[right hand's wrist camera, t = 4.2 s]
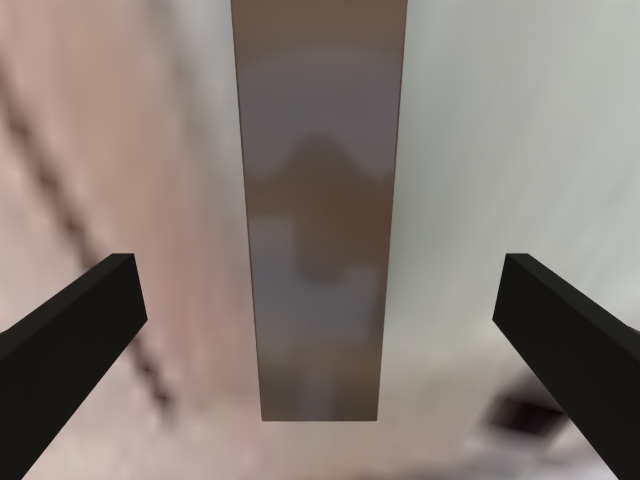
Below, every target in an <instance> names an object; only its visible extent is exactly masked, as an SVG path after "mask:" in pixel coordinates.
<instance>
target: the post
mask: <svg viewBox="0 0 640 480" xmlns="http://www.w3.org/2000/svg"><path fill="white" fill-rule="evenodd" d="M407 2H408V0H231V12H232V26H233V39H234V53H235V66H236V80H237V93H238V107H239V120H240V134H241V147H242V161H243V174H244V188H245V201H246V214H247V228H248V241H249V255H250V268H251V282H252V295H253V309H254V322H255V336H256V349H257V363H258V376H259V389H260V403H261V416H262V421H377V414H378V400H379V386H380V372H381V359H382V345H383V331H384V317H385V304H386V290H387V276H388V262H389V249H390V235H391V221H392V208H393V194H394V180H395V166H396V153H397V139H398V125H399V111H400V98H401V84H402V70H403V57H404V43H405V29H406V15H407Z"/></svg>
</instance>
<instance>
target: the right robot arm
mask: <svg viewBox="0 0 640 480" xmlns="http://www.w3.org/2000/svg"><path fill="white" fill-rule="evenodd" d="M147 320H148V319H147V314H146V309H145V304H144V300H143V295H142V290H141V285H140V280H139V276H138V271H137V266H136V261H135V256H134V253H112V254H111V255H109V256H108V257H107V258H105V259H104V260H103V261H101V262H100V263H98V264H97V265H96V266H94V267H93V268H92V269H90V270H89V271H87V272H86V273H85V274H83V275H82V276H81V277H79V278H78V279H76V280H75V281H74V282H72V283H71V284H70V285H68V286H67V287H65V288H64V289H63V290H61V291H60V292H59V293H57V294H56V295H54V296H53V297H52V298H50V299H49V300H48V301H46V302H45V303H43V304H42V305H41V306H39V307H38V308H37V309H35V310H34V311H32V312H31V313H30V314H28V315H27V316H26V317H24V318H23V319H21V320H20V321H19V322H17V323H16V324H15V325H13V326H12V327H11V328H9V329H8V330H6V331H4V332H2V333H0V480H21V479H22V478H23V477H24V476H25V474H26V473H27V472H28V471H29V469H30V468H31V467H32V466H33V464H34V463H35V462H36V460H37V459H38V458H39V457H40V455H41V454H42V453H43V452H44V450H45V449H46V448H47V447H48V445H49V444H50V443H51V442H52V440H53V439H54V438H55V436H56V435H57V434H58V433H59V431H60V430H61V429H62V428H63V426H64V425H65V424H66V423H67V421H68V420H69V419H70V418H71V416H72V415H73V414H74V412H75V411H76V410H77V409H78V407H79V406H80V405H81V404H82V402H83V401H84V400H85V399H86V397H87V396H88V395H89V393H90V392H91V391H92V390H93V388H94V387H95V386H96V385H97V383H98V382H99V381H100V380H101V378H102V377H103V376H104V375H105V373H106V372H107V371H108V369H109V368H110V367H111V366H112V364H113V363H114V362H115V361H116V359H117V358H118V357H119V356H120V354H121V353H122V352H123V351H124V349H125V348H126V347H127V345H128V344H129V343H130V342H131V340H132V339H133V338H134V337H135V335H136V334H137V333H138V332H139V330H140V329H141V328H142V326H143V325H144V324H145V323H146V321H147ZM492 320H493V321H494V323H495V324H496V325H497V326H498V328H499V329H500V330H501V332H502V333H503V334H504V335H505V337H506V338H507V339H508V340H509V342H510V343H511V344H512V345H513V347H514V348H515V349H516V351H517V352H518V353H519V354H520V356H521V357H522V358H523V359H524V361H525V362H526V363H527V364H528V366H529V367H530V368H531V369H532V371H533V372H534V373H535V375H536V376H537V377H538V378H539V380H540V381H541V382H542V383H543V385H544V386H545V387H546V388H547V390H548V391H549V392H550V393H551V395H552V396H553V397H554V399H555V400H556V401H557V402H558V404H559V405H560V406H561V407H562V409H563V410H564V411H565V412H566V414H567V415H568V416H569V418H570V419H571V420H572V421H573V423H574V424H575V425H576V426H577V428H578V429H579V430H580V431H581V433H582V434H583V435H584V436H585V438H586V439H587V440H588V442H589V443H590V444H591V445H592V447H593V448H594V449H595V450H596V452H597V453H598V454H599V455H600V457H601V458H602V459H603V460H604V462H605V463H606V464H607V466H608V467H609V468H610V469H611V471H612V472H613V473H614V474H615V476H616V477H617V478H618V479H619V480H640V332H639V331H637V330H635V329H633V328H631V327H628V326H627V325H625V324H624V323H623V322H621V321H620V320H619V319H617V318H616V317H614V316H613V315H612V314H610V313H609V312H608V311H606V310H605V309H603V308H602V307H601V306H599V305H598V304H597V303H595V302H594V301H592V300H591V299H590V298H588V297H587V296H586V295H584V294H583V293H581V292H580V291H579V290H577V289H576V288H575V287H573V286H572V285H570V284H569V283H568V282H566V281H565V280H564V279H562V278H561V277H559V276H558V275H557V274H555V273H554V272H553V271H551V270H550V269H548V268H547V267H546V266H544V265H543V264H542V263H540V262H539V261H537V260H536V259H535V258H533V257H532V256H531V255H529V254H528V253H506V256H505V261H504V266H503V271H502V276H501V280H500V285H499V290H498V295H497V300H496V304H495V309H494V314H493V319H492Z"/></svg>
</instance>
